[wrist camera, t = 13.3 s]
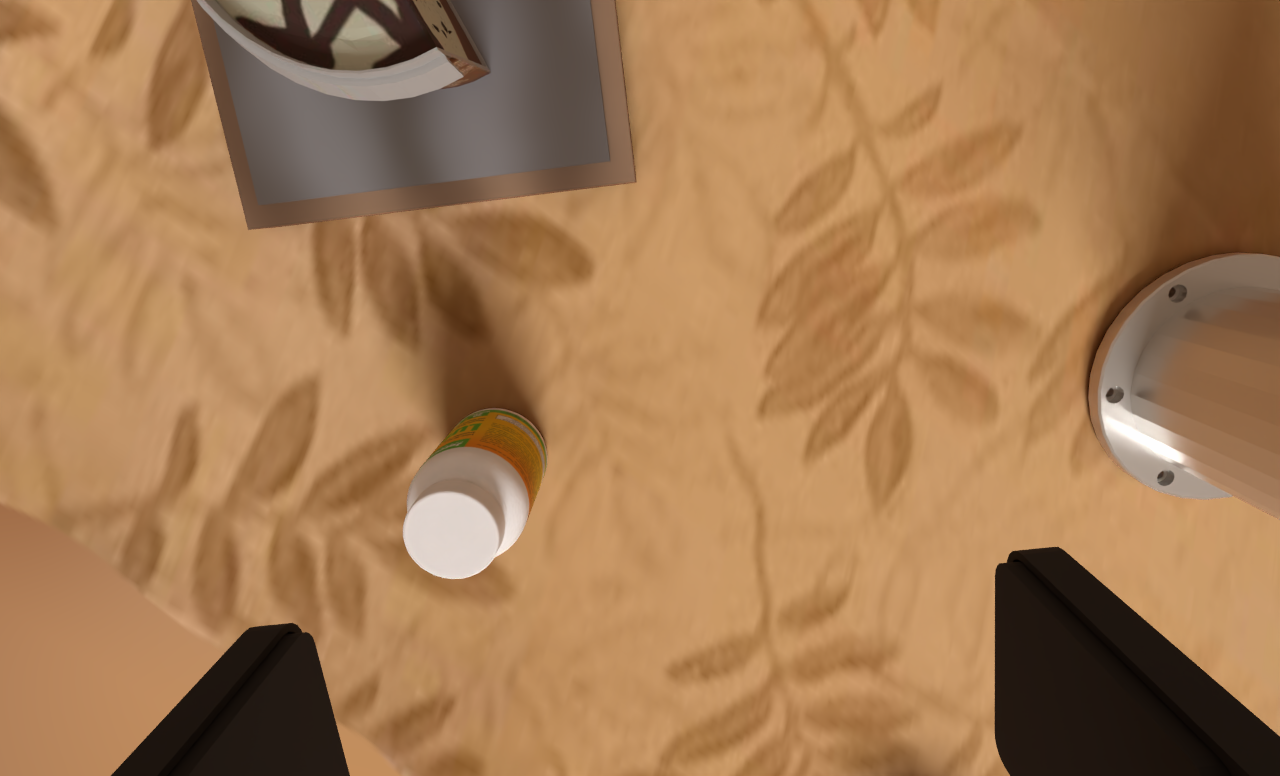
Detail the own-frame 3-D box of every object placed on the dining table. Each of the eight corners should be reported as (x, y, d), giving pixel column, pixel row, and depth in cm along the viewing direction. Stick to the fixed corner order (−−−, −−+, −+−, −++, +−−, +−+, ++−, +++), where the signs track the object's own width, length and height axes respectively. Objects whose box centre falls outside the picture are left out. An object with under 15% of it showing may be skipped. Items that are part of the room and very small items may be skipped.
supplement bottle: (489, 385, 38) (436, 447, 29) (569, 449, 39) (543, 530, 30) (427, 458, 39) (357, 541, 30) (506, 519, 40) (462, 619, 31)
